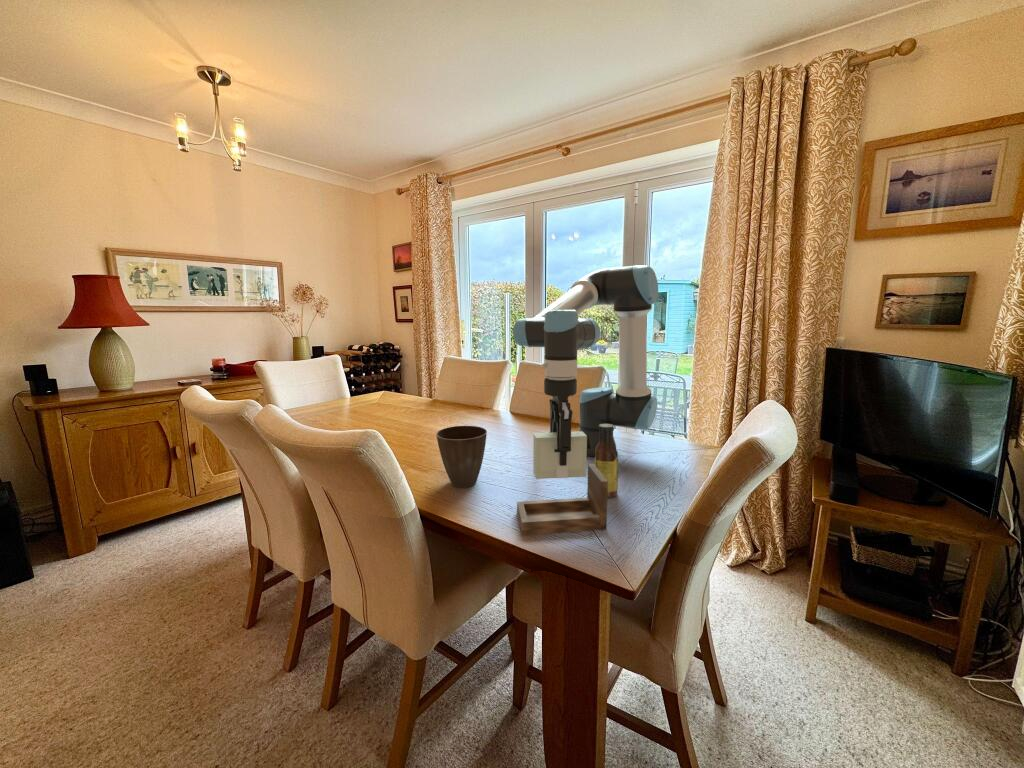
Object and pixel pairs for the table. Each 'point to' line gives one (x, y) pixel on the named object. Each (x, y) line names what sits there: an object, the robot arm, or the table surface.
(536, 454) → the cream rectangular block
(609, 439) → the sauce bottle
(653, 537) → the table surface
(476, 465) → the plant pot
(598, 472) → the wooden l-shaped stand
